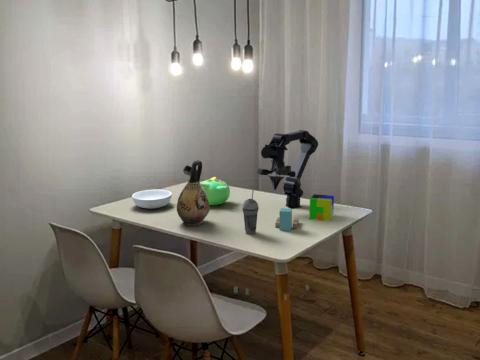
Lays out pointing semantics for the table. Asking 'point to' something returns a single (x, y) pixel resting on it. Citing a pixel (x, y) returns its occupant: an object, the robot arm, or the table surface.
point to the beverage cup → (250, 215)
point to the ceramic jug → (193, 198)
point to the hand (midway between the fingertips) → (274, 189)
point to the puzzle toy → (321, 207)
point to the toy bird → (216, 191)
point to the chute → (294, 224)
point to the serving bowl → (152, 198)
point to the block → (285, 219)
